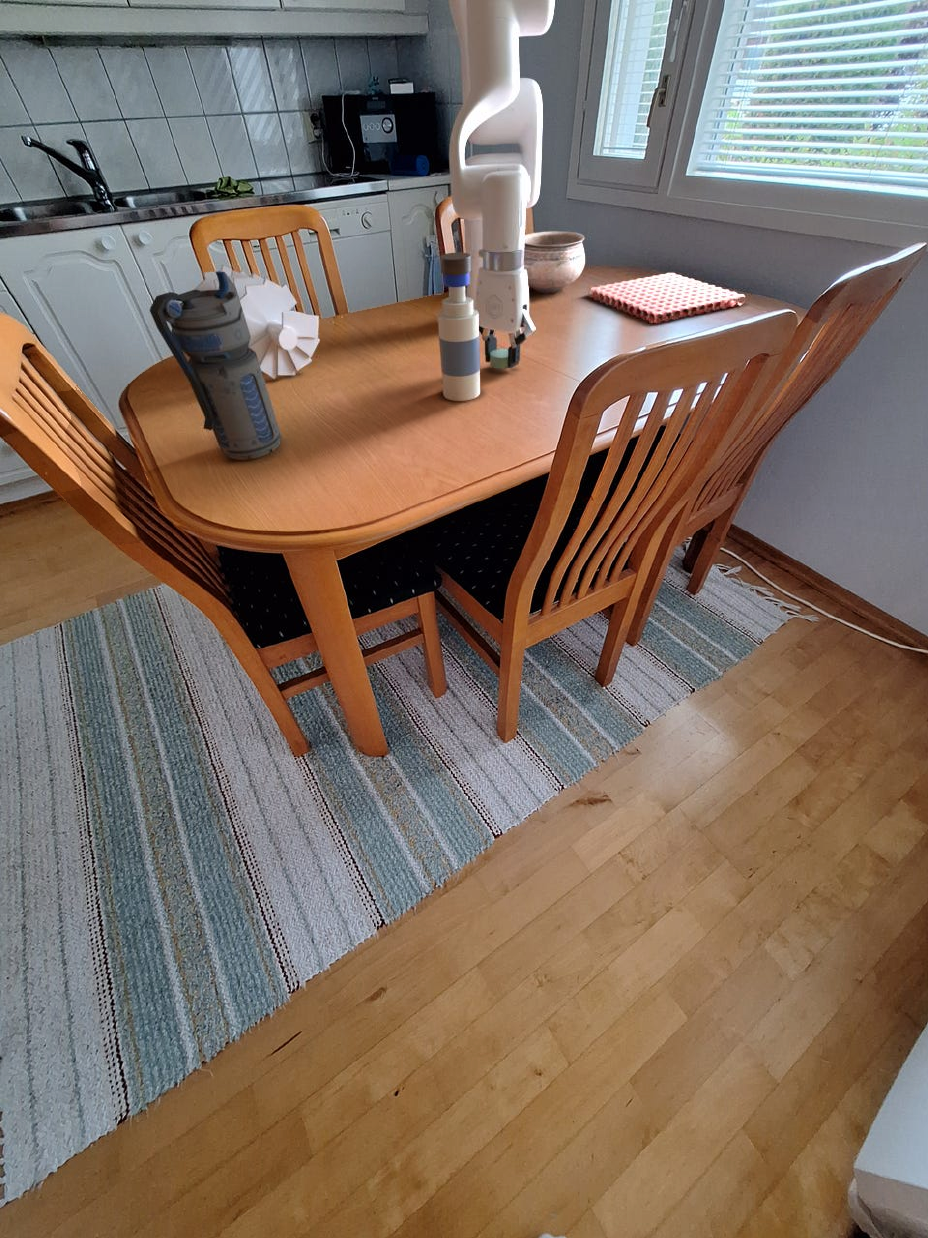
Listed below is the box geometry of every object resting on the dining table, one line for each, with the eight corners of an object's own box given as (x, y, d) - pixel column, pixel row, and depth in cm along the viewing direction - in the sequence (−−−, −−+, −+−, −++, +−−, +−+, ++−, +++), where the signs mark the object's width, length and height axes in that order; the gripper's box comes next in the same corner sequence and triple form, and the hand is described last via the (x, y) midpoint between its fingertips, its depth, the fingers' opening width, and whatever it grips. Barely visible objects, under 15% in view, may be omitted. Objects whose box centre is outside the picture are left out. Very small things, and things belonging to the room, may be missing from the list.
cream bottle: (437, 389, 104) (428, 269, 90) (471, 382, 106) (468, 263, 92) (450, 404, 100) (443, 279, 85) (486, 396, 101) (484, 272, 87)
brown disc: (436, 270, 89) (435, 254, 88) (464, 266, 90) (463, 250, 89) (447, 276, 86) (446, 260, 84) (475, 272, 87) (475, 256, 86)
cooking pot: (554, 275, 160) (557, 226, 152) (603, 286, 150) (609, 234, 141) (492, 293, 150) (492, 241, 141) (540, 306, 139) (544, 251, 130)
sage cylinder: (486, 362, 111) (486, 351, 109) (507, 357, 112) (508, 346, 111) (496, 370, 108) (496, 359, 106) (518, 366, 109) (518, 354, 107)
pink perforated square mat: (587, 296, 144) (588, 287, 143) (669, 280, 152) (671, 271, 150) (654, 324, 126) (656, 314, 124) (744, 304, 133) (746, 295, 132)
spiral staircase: (284, 404, 112) (227, 369, 124) (339, 345, 114) (277, 317, 126) (223, 330, 96) (164, 299, 108) (288, 264, 98) (223, 240, 110)
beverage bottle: (198, 460, 88) (122, 289, 70) (259, 428, 96) (205, 266, 78) (237, 476, 84) (168, 298, 66) (298, 441, 92) (251, 273, 74)
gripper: (454, 258, 98) (458, 360, 112) (531, 271, 91) (526, 378, 104) (478, 249, 102) (480, 348, 116) (554, 260, 95) (546, 365, 108)
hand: (502, 361), depth 110 cm, fingers closed on sage cylinder, 5 cm apart
